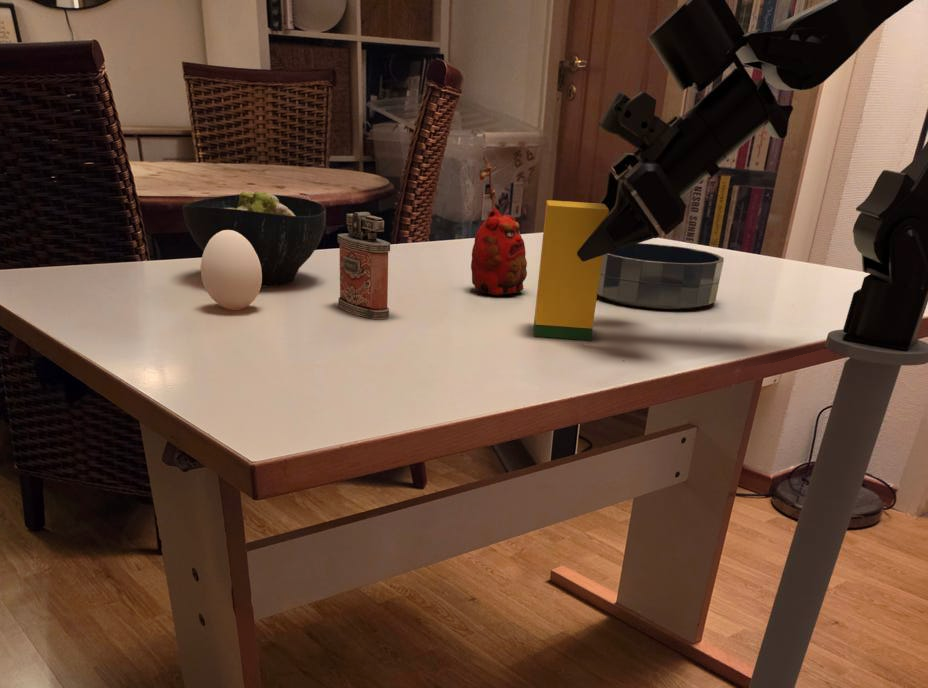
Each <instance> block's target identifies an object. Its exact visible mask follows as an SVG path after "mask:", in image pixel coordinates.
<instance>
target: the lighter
mask: <svg viewBox="0 0 928 688" xmlns="http://www.w3.org/2000/svg"><path fill="white" fill-rule="evenodd" d="M346 227H347V228H346V229H347V231H348V233H338V234H337V243H338V244H339V297H337V298H338V307H339V308H341V310H344V311H346V312H348V313H350V314H353V315H356V316H360V317H363V318H367V319H372V320H385V319H389V317H390V308H389V307H388V301H389V300H388V293H389V292H388V291H389V252H391V242H389V241H386V240H383V239H380V238H377V232H385V220H383V218H382V217H379V216H375V215H371V213H370V212H368V211H360V212H359V211H357V212H356V211H354V212H353V213H346Z"/></svg>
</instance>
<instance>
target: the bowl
mask: <svg viewBox="0 0 928 688" xmlns="http://www.w3.org/2000/svg"><path fill="white" fill-rule="evenodd" d="M181 209H182V214H183V219H184V220H183V221H184V224H185V226H186V227H187V231H188V232H189V234H190V236H191V238H192V240H193V241H194V242H195V244H196V245H197V246H198V247H199V249H200V250H201V251H202V252H203V253H204V250H205V247H206V246H207V244H208V242H209V240H210V239H211V238H212V237H213V236H214V235H215V234H217V233H219V232H221V231H223V230H233V231H236V232H238V233H239V234H241V235H242V236H244V237H245V238H246V239H247V240H248V241H249V242H250V244H251V245H252V247H253V248H254V250H255V252H256V254H257V256H258V258H259V261H260V265H261V271H262V284H261V287H277V286H285V285H289V284H292V283H293V282H294V281H295V278H296V277H297V274H298V272H299V269H300V268H301V267H302V266H303V265H304V264H305V263H306V262H307V261H308V260H309V259H310V258H311V256H312V255H313V254H314V252H315V251H316V249H317V248H318V246H319V245H320V244H321V240H322V238H323V235H324V233H325V229H326V225H327V224H326V223H327V208H326V206H324V205H323V204H321V203H319V202H317V201H314V200H311V199H307V198H302V197H294V196H290V195H281V194H272V193H269V192H260V191H259V192H257V191H256V192H253V193H247V192H245V191H242V192H240V193H239V194H229V195H222V196H221V195H220V196H215V197H210V198H209V197H208V198H204V199H199V200H196V201H192V202H188V203H186V204H184V205H182V207H181Z"/></svg>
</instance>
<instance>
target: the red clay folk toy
mask: <svg viewBox="0 0 928 688" xmlns="http://www.w3.org/2000/svg"><path fill="white" fill-rule="evenodd" d="M483 160H484V161H485V164H486V169H485V168H480V169H479V171H478V179H479V181H484V180H485V179H486V178H489V179H488V180H489V188H490V193H489V198H490V201H491V211H490V212H489V213H488V215H487V218H486V219H485V221H483V223H482V224H481V225H480V227H479V228H478V230H477V231H476V233H475V236H474V243H473V246H472V250H471V262H470V270H471V283H472V285H473V286H474V288H475V290H476V291H477V292H478V293H480V294H481V293H482V294H489V295H491V296H498V297H500V296H502V295H503V296H505V295H510V294H518V293H519V294H520V293H521V291H522V292H523V290H524V282H525V281H526V279H527V276H528V271H527V267H528V261H527V258H526V253H527V252H526V245H525V241H524V239H523V237H522V235H521V232H520V224H519V222H517V221H515V219H514V217H513V216H512V215H510V214H505V215H502V214H501V213H500V211H499V210H498V209H497V207H496V204H495V199H494V198H495V195H496V193H497V191H496V190H495V189H494V187H493V179H492V173H493V171H494V170H497V169H498V168H499V167H500V165H499V164H498V165H496V166H494V167H493V168H492V167H491V166H490V163H489V161H488V160H487V157H486V156H485V157H483Z"/></svg>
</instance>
